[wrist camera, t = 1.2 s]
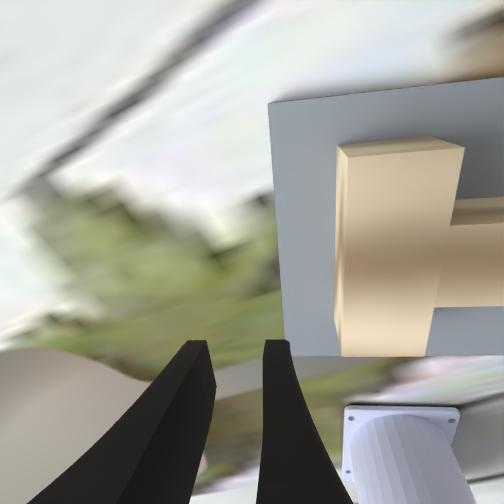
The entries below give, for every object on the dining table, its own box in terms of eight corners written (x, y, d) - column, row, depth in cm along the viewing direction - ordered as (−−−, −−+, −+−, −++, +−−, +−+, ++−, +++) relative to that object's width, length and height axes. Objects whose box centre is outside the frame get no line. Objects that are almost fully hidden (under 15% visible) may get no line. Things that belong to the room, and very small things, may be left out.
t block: (538, 314, 17) (584, 356, 15) (334, 318, 19) (341, 356, 16) (613, 119, 13) (699, 127, 10) (336, 144, 14) (348, 157, 12)
